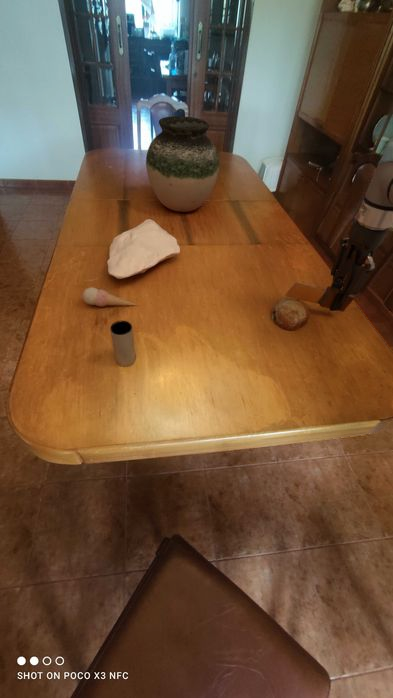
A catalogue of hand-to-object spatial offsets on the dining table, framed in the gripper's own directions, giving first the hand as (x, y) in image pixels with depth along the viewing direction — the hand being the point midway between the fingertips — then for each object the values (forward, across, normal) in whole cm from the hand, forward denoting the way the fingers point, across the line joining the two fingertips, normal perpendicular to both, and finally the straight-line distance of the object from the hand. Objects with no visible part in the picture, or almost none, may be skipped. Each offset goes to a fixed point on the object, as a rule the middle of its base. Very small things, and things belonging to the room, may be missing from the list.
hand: (332, 306), depth 87 cm
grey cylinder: (+4, +10, -56) cm, 57 cm away
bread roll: (+4, 0, -12) cm, 12 cm away
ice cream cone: (+4, -11, -60) cm, 61 cm away
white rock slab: (+4, -32, -50) cm, 60 cm away
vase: (+4, -74, -32) cm, 81 cm away
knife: (-2, 0, -6) cm, 6 cm away
